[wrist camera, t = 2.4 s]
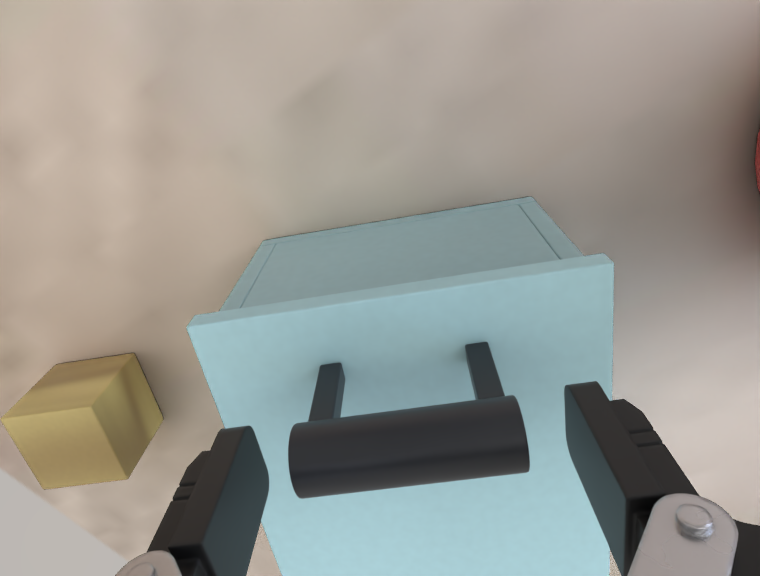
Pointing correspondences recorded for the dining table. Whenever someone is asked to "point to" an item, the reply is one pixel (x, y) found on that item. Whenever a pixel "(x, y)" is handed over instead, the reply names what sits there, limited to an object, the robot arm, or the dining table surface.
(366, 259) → the box
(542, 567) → the freezer lid
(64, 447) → the block
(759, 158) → the citrus juicer
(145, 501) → the dining table surface
